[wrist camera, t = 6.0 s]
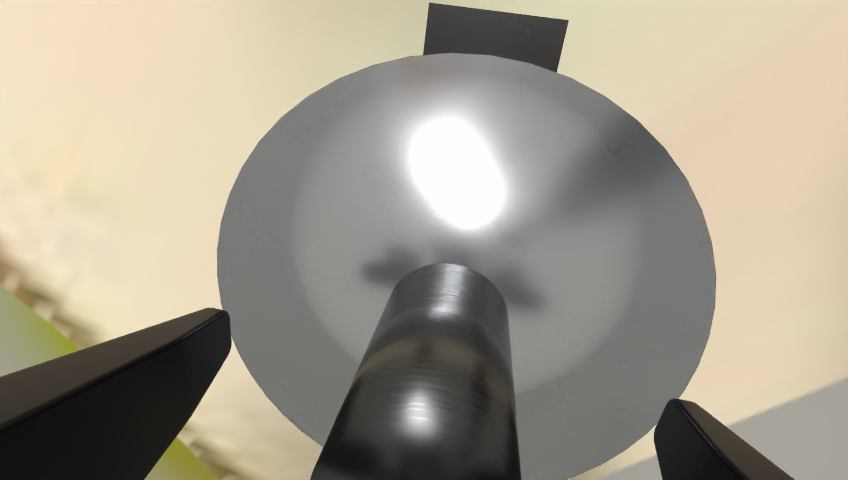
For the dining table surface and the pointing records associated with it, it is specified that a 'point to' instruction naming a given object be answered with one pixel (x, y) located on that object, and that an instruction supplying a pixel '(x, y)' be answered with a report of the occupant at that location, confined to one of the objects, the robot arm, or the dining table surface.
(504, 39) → the grey low hollow cylinder
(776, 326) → the dining table surface
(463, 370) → the lid
